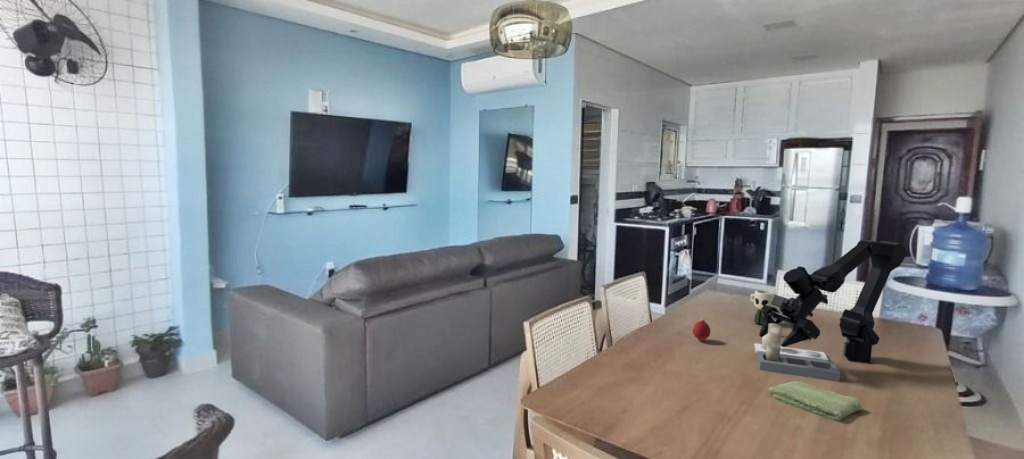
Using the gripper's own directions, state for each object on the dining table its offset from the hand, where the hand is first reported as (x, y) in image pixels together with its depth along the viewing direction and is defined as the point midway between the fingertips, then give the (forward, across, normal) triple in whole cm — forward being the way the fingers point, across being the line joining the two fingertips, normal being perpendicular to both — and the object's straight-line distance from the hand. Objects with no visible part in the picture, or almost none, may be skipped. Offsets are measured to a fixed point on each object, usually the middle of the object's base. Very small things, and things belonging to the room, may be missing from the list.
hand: (770, 341), depth 150 cm
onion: (+11, -25, +1) cm, 27 cm away
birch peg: (+5, 0, +6) cm, 8 cm away
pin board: (+1, +4, +10) cm, 11 cm away
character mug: (-15, -38, +27) cm, 49 cm away
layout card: (-4, -8, +16) cm, 18 cm away
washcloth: (+11, +23, +2) cm, 25 cm away
